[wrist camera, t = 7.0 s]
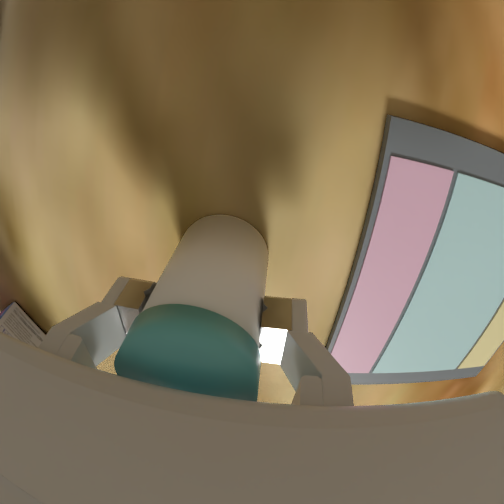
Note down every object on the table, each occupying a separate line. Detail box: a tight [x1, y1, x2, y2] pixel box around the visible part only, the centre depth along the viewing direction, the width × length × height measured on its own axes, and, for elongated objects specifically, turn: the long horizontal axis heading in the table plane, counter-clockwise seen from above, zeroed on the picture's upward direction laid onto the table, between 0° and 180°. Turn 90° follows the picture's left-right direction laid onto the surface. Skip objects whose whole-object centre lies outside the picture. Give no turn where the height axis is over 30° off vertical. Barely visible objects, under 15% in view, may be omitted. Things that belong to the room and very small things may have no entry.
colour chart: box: [326, 115, 504, 384], centre depth 13 cm, size 14×16×1 cm
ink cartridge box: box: [0, 302, 46, 348], centre depth 15 cm, size 10×6×14 cm, turn 31°
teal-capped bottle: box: [114, 215, 268, 402], centre depth 11 cm, size 4×4×7 cm
